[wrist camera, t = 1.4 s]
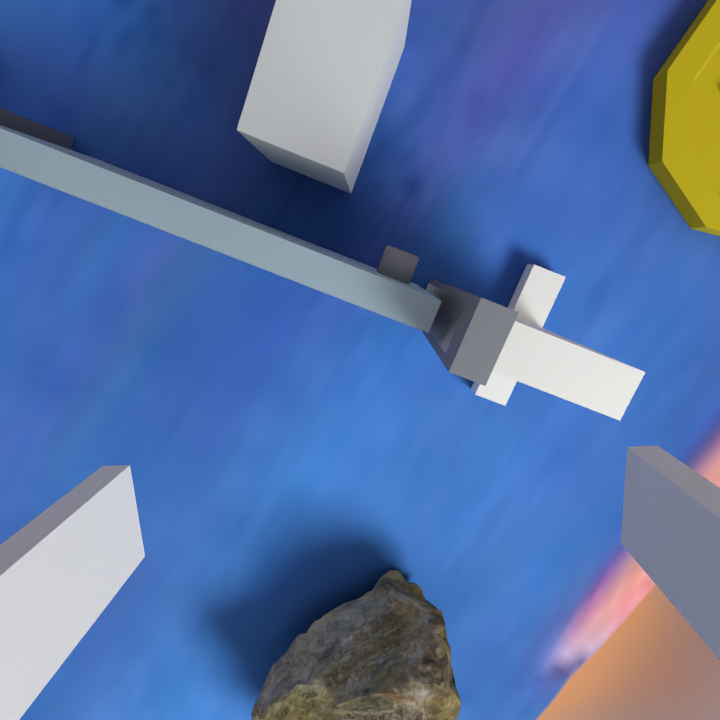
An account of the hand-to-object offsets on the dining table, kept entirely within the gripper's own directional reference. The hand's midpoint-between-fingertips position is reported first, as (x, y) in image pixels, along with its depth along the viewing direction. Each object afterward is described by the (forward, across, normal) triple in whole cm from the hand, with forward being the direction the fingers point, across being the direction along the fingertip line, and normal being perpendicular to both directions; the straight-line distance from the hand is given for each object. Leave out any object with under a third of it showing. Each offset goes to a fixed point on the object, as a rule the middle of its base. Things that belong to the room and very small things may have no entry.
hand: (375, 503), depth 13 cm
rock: (+25, -3, -26) cm, 36 cm away
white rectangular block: (+24, -2, +16) cm, 30 cm away
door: (+24, -9, +9) cm, 27 cm away
